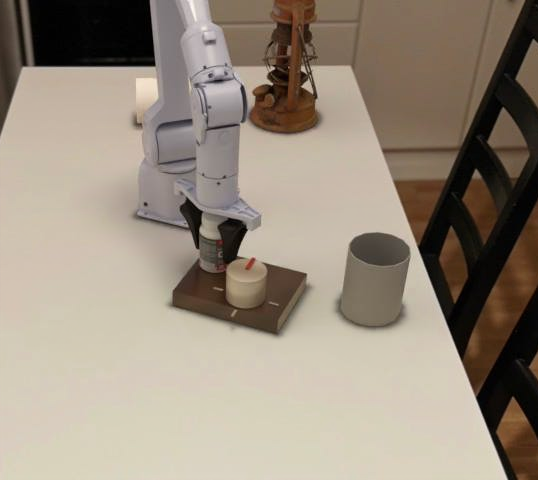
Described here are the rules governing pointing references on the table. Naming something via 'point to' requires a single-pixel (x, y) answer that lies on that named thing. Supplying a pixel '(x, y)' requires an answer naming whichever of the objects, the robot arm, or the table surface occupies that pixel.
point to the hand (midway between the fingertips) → (215, 253)
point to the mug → (146, 95)
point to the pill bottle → (211, 244)
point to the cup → (375, 278)
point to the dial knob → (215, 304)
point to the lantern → (288, 72)
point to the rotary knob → (246, 283)
